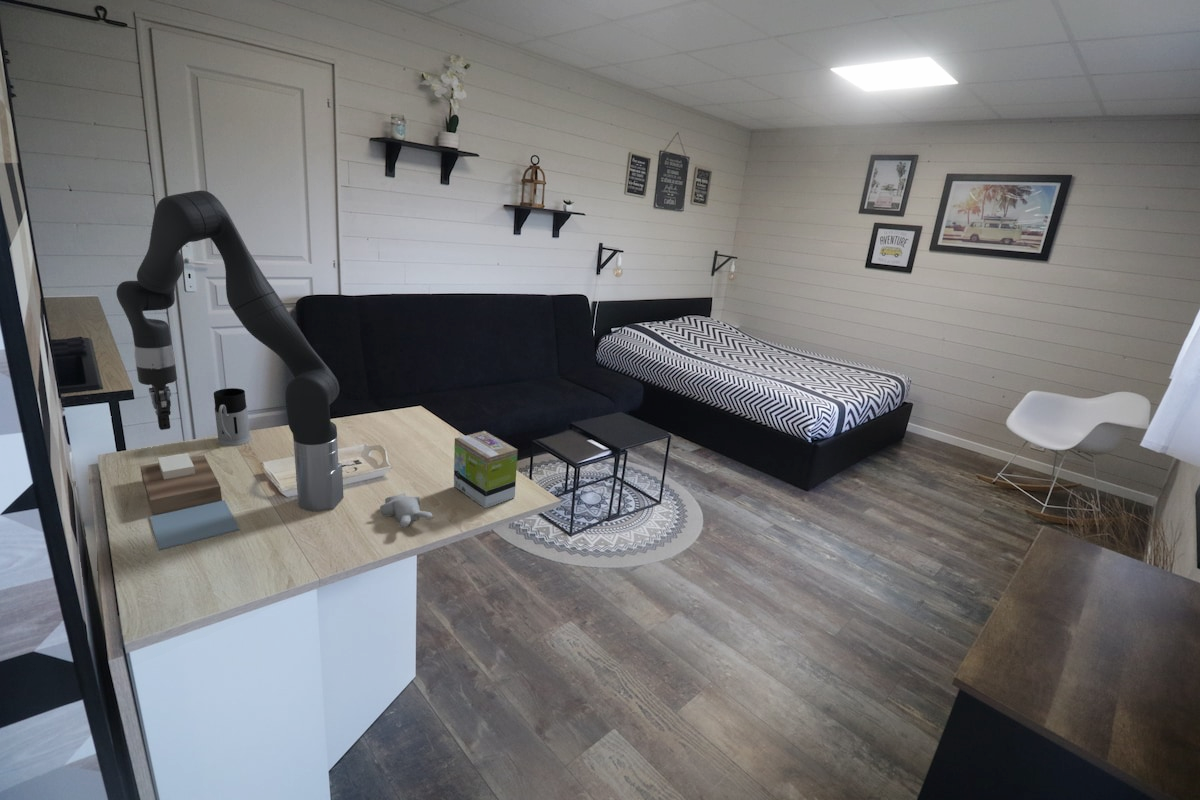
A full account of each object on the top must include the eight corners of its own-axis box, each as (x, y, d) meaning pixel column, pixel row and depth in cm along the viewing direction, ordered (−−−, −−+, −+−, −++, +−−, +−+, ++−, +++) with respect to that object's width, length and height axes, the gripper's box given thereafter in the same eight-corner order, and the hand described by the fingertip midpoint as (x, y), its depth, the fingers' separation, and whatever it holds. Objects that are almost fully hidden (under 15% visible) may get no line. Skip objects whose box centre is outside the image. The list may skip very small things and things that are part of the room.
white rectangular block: (158, 465, 137) (157, 457, 136) (188, 460, 141) (187, 452, 140) (164, 479, 131) (162, 471, 130) (195, 473, 135) (194, 466, 134)
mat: (150, 517, 123) (149, 516, 123) (224, 501, 132) (224, 500, 132) (159, 550, 112) (158, 548, 112) (239, 529, 122) (239, 528, 122)
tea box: (452, 487, 150) (453, 436, 145) (483, 477, 157) (485, 429, 153) (484, 509, 141) (487, 456, 136) (516, 498, 148) (519, 447, 143)
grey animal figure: (410, 486, 140) (437, 505, 129) (412, 505, 141) (438, 525, 130) (373, 495, 134) (397, 516, 123) (374, 514, 135) (398, 537, 124)
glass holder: (255, 434, 169) (250, 387, 164) (242, 453, 156) (237, 403, 151) (221, 435, 166) (216, 387, 161) (206, 454, 153) (199, 403, 148)
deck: (142, 480, 137) (140, 466, 136) (206, 469, 146) (204, 455, 144) (152, 516, 123) (150, 500, 122) (222, 500, 132) (220, 485, 131)
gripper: (132, 357, 137) (142, 422, 143) (139, 371, 129) (149, 440, 134) (170, 355, 142) (178, 417, 148) (179, 368, 134) (187, 434, 139)
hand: (164, 428), depth 141 cm, fingers closed
